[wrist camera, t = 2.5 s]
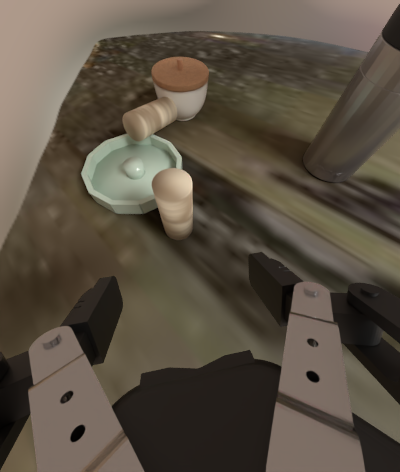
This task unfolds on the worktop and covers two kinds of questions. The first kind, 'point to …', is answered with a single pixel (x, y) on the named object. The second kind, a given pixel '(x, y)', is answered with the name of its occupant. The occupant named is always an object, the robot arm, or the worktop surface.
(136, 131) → the beige banded cylinder
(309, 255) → the worktop surface
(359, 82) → the robot arm
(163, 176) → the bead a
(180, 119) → the lidded jar
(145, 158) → the ring dish
